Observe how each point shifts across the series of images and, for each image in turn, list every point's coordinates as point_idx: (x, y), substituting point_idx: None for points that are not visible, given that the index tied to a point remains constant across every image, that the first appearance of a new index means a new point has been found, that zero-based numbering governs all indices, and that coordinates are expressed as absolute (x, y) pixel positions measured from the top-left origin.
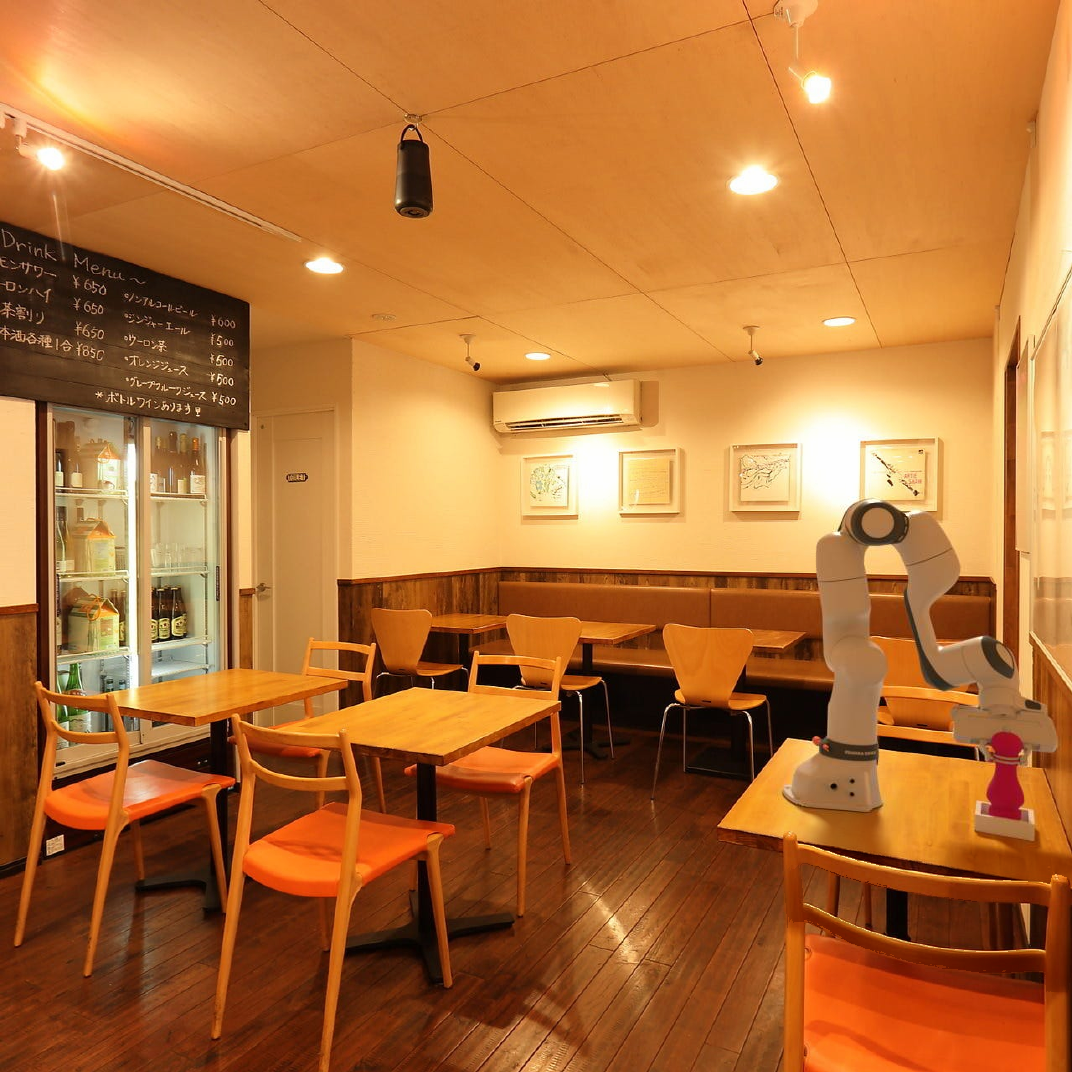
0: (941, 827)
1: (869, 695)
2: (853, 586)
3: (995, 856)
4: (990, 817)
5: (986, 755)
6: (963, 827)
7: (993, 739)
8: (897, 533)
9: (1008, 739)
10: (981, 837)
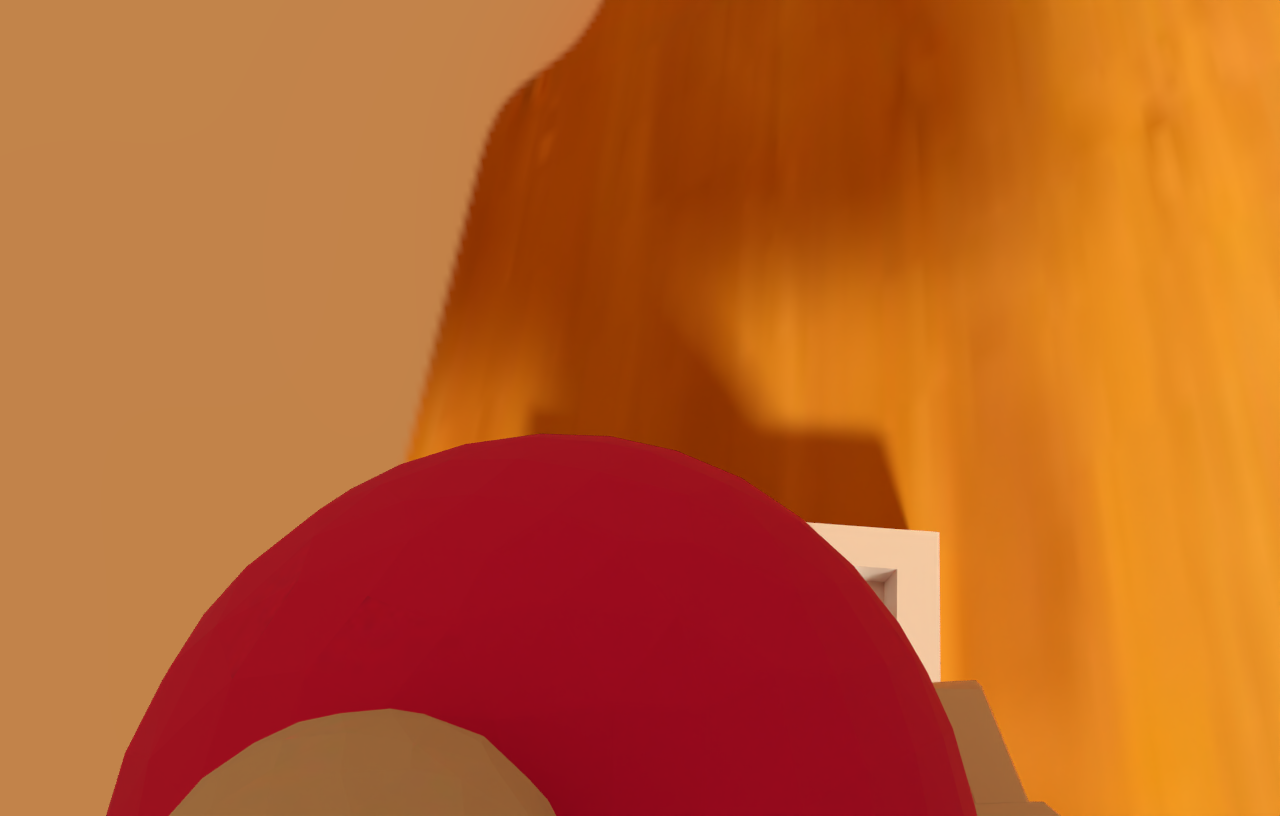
0: (1145, 507)
1: None
2: None
3: (792, 146)
4: (818, 525)
5: (986, 713)
6: (994, 594)
7: (923, 687)
8: None
9: (501, 460)
10: (866, 431)
